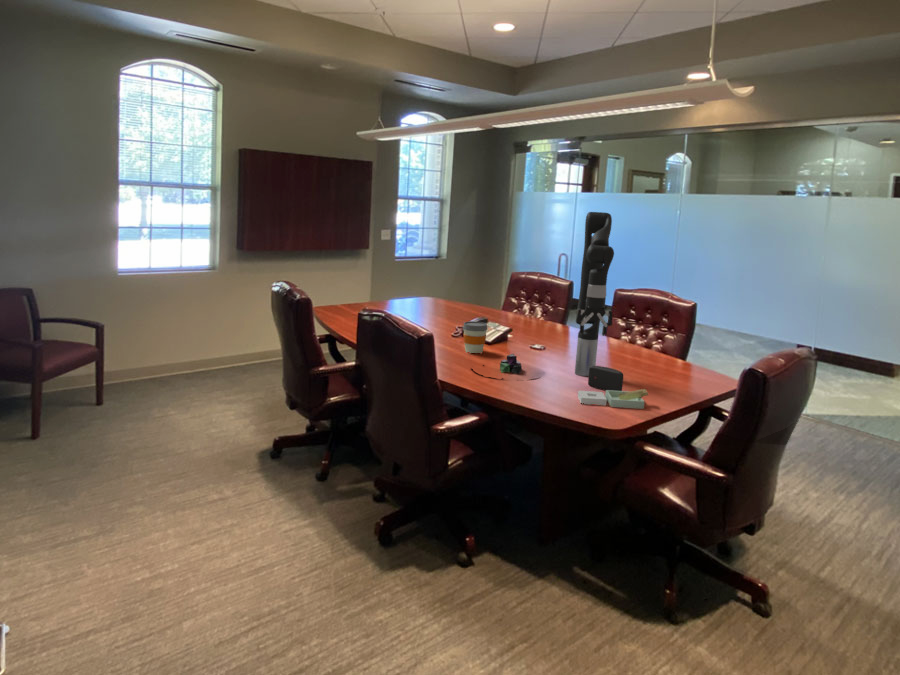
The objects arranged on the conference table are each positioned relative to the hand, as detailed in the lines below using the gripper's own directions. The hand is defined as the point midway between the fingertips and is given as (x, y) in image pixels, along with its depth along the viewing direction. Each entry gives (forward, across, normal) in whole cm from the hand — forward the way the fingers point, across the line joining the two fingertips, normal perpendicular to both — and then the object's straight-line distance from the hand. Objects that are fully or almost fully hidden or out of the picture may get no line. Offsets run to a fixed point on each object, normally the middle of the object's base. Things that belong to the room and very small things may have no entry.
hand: (592, 335), depth 264 cm
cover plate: (+26, -1, +6) cm, 27 cm away
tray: (+26, -14, +6) cm, 30 cm away
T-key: (+24, -12, +6) cm, 28 cm away
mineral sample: (+27, +32, -34) cm, 54 cm away
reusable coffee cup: (+26, +49, -68) cm, 88 cm away
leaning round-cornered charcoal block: (+26, -9, -11) cm, 30 cm away
